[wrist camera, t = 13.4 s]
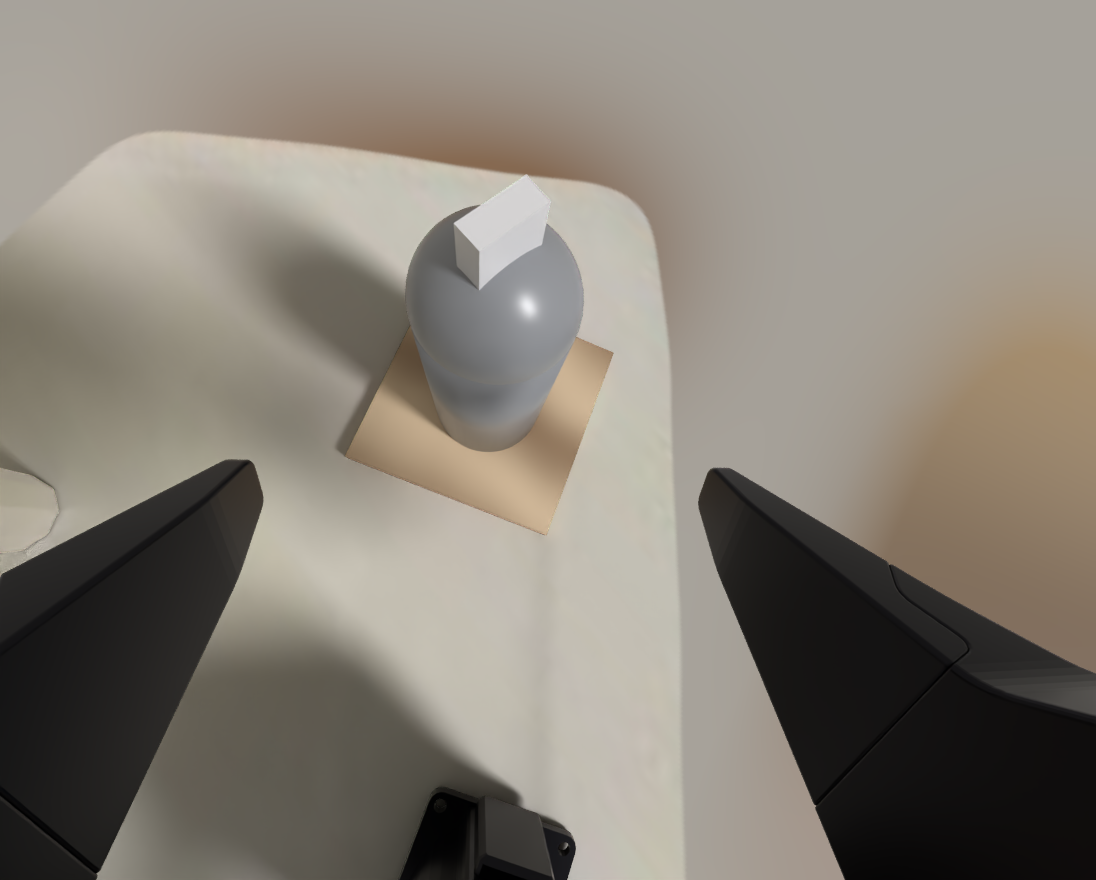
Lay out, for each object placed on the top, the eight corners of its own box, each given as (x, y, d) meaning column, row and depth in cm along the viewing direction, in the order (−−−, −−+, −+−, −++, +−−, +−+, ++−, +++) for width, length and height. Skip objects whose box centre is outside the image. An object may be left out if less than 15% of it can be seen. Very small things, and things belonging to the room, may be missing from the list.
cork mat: (544, 535, 23) (546, 535, 22) (348, 458, 22) (344, 455, 22) (610, 357, 25) (613, 352, 25) (434, 283, 25) (433, 277, 24)
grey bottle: (482, 473, 22) (491, 371, 9) (414, 395, 23) (325, 187, 9) (559, 408, 24) (665, 234, 10) (493, 335, 24) (513, 74, 11)
